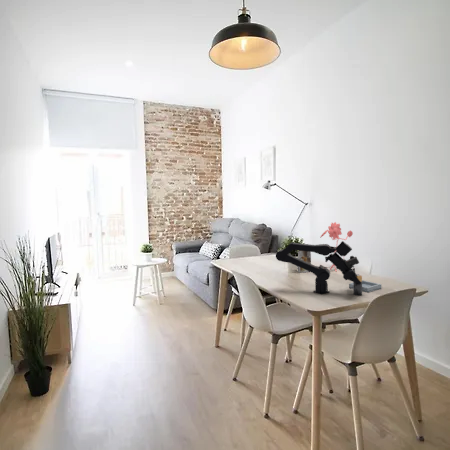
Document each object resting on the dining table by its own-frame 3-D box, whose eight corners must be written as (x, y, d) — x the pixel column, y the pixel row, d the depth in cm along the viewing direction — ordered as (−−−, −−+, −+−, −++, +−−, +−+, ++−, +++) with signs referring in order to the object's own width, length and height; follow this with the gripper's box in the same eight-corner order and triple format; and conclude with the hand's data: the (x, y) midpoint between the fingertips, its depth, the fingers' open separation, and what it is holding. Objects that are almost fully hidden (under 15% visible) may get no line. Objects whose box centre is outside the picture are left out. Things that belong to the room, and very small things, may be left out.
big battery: (358, 295, 178) (358, 275, 178) (351, 294, 182) (351, 274, 181) (363, 294, 181) (363, 274, 180) (357, 292, 184) (356, 273, 184)
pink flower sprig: (356, 269, 242) (355, 221, 240) (327, 273, 233) (325, 223, 231) (342, 265, 256) (340, 220, 254) (314, 269, 247) (312, 223, 245)
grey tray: (367, 292, 184) (367, 288, 184) (349, 287, 194) (349, 283, 194) (381, 288, 190) (381, 284, 190) (362, 284, 201) (362, 280, 201)
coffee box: (307, 270, 246) (306, 248, 245) (311, 271, 240) (310, 249, 239) (295, 271, 244) (295, 249, 243) (300, 273, 238) (299, 250, 236)
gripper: (349, 255, 172) (373, 276, 169) (349, 249, 190) (370, 268, 187) (334, 269, 176) (356, 290, 173) (335, 262, 193) (355, 282, 190)
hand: (360, 282), depth 180 cm, fingers closed on big battery, 4 cm apart
